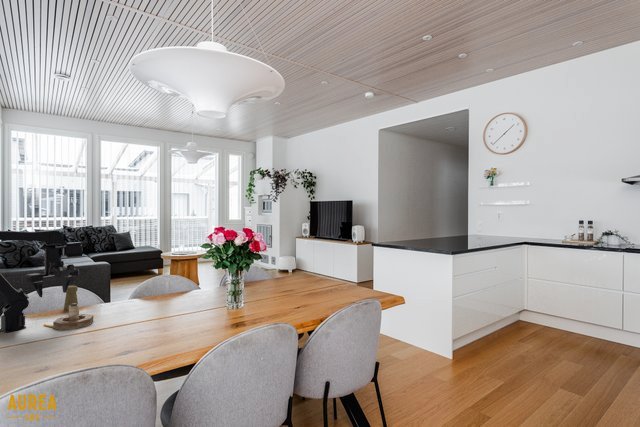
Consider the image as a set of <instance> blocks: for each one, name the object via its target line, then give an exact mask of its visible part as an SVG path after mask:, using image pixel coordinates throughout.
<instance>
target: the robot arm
mask: <svg viewBox="0 0 640 427" xmlns="http://www.w3.org/2000/svg"><path fill="white" fill-rule="evenodd" d="M0 241H30V242H34V241H35V242H39V243H40V242H41V243H42V244H41V246H39V248H38V249H40V250H44V261H42V264H43V265H44V270H43V271H42V273H38V272H35V273H28V274H25V275H24V278H23V281H24V282H26V283H28V284H31V286H32V287H33V288H34V290H35V292H36V294H37V295H38V298H43V294H44V292H43V285H44V282H45V281H44V280H43V279H50V278H57V279H58V278H59V279H60V278H61V285H62V286H61V287H62V288H61V289H62V293H63V294H64V293H65V294H66V290H67V288H68V286H70V283H71V282H72V280H73V279H75V278H76V277H77V276H79V275H80V270H79V269H78V268H75V265H74V264H68V265H65V262H64V260H62V255H63V256H65V258H66V259H69V258H71V259H72V258H82V257H83V254H84V253H83V251H84V250H83V247H82V241H77V242H76V241H74V242H67V241H66V240H65V239H63V234H62V232H60V231H59V230H55V229H48V230H39V231H17V230H16V231H15V230H0ZM56 244H58V245H60V246H56ZM0 292H1V293H2V295H3V297H4V298H5V300H6V303H7V304H6V305H5V306H4V307H2V313H3V314H2V315H1V316H0V332H3V333H11V332H14V331H15V332H16V331H19V330H24V329H26V328H27V326H25V325H26V316H25V313H24V310H26V309H27V308H28V307H29V305H30V302H29V299H30V297H29V295H28V294H26V293H25V292H24V291H23V289H22V288H21V287H20V288H19V289H16V288H15V287H13V286H12V284H11V283H10V282H9V281H8V280H7V279H6V277H5V276H3V275H2V273H1V272H0Z"/></svg>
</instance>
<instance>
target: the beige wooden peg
mask: <svg viewBox="0 0 640 427" xmlns="http://www.w3.org/2000/svg"><path fill="white" fill-rule="evenodd" d="M79 314H80V304H78V305H77V303H72V304H71V305H70V306H69V309H68V316H69V321H77V320H79Z"/></svg>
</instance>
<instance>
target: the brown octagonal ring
mask: <svg viewBox="0 0 640 427" xmlns="http://www.w3.org/2000/svg"><path fill="white" fill-rule="evenodd" d="M93 322H94V315H93V314H88V313H79V320H77V321H69V315H66V316H61V317H58V318H56V319H55V320H54V321H53V323H52V326H53V327H52V329H55V330H59V331H60V330H61V331H65V330H71V329H72V330H73V329H74V330H76V329H80V328H83V327H87V326H90V325H91V324H92V323H93Z"/></svg>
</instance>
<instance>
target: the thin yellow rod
mask: <svg viewBox="0 0 640 427" xmlns="http://www.w3.org/2000/svg"><path fill="white" fill-rule="evenodd" d="M43 326H44V327H49V328H53V324H47V323H44V324H43Z"/></svg>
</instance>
